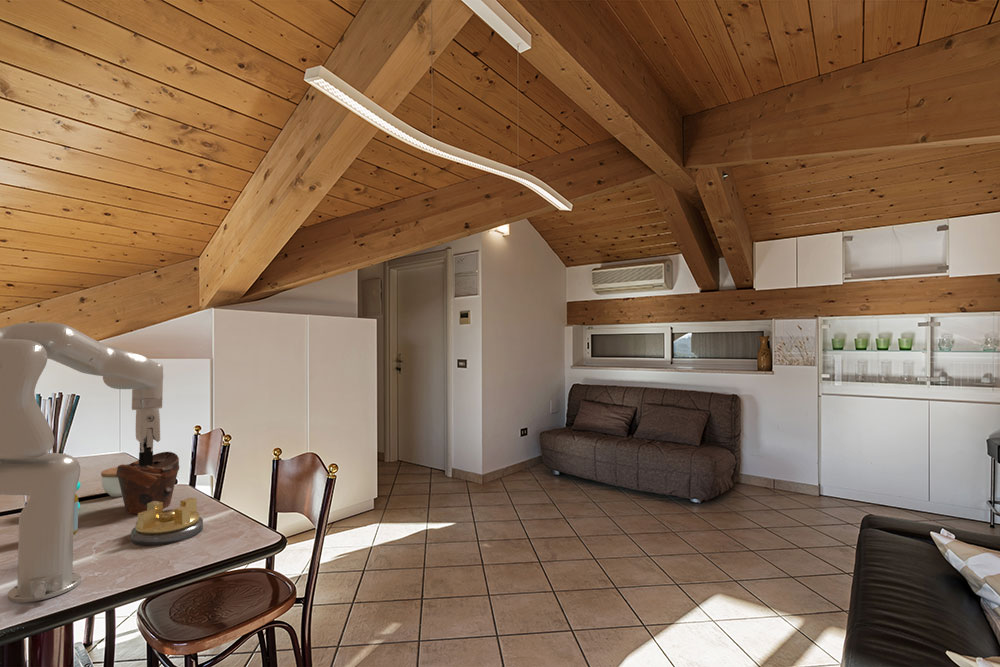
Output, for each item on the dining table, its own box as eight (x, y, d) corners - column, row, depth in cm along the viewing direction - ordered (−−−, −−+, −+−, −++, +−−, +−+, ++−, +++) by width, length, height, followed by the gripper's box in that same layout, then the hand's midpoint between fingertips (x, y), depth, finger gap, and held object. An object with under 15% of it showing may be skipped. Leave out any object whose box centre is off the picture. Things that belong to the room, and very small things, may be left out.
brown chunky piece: (106, 521, 160) (108, 464, 160) (123, 502, 178) (125, 452, 179) (171, 514, 167) (173, 460, 168) (182, 497, 185) (183, 449, 186)
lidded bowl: (119, 488, 195) (119, 460, 195) (150, 489, 195) (150, 460, 195) (91, 498, 183) (92, 468, 183) (124, 499, 182) (125, 469, 182)
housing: (209, 534, 150) (210, 514, 150) (136, 551, 137) (137, 529, 137) (194, 518, 163) (194, 500, 163) (126, 533, 150) (126, 513, 150)
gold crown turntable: (158, 538, 140) (158, 517, 140) (122, 529, 146) (123, 509, 146) (211, 520, 154) (211, 500, 154) (176, 512, 161) (177, 494, 161)
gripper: (167, 405, 147) (166, 467, 146) (157, 400, 158) (155, 459, 157) (136, 407, 142) (134, 471, 141) (127, 402, 152) (126, 462, 152)
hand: (145, 464), depth 149 cm, fingers closed
